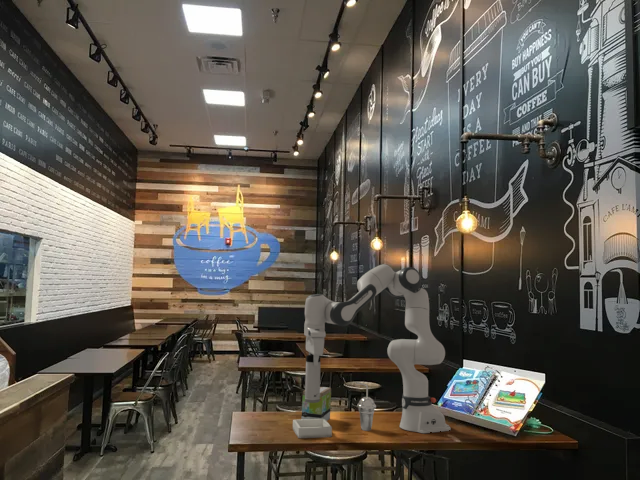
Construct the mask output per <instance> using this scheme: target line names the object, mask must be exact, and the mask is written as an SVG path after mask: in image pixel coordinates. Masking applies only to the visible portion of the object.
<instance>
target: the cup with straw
mask: <svg viewBox="0 0 640 480" xmlns="http://www.w3.org/2000/svg"><path fill="white" fill-rule="evenodd" d="M355 384H358V385H360V386H363V387H366V390H365V391H366V393H365V394H366V396H363V397H361V399H359V401H358V403H357V405H356V407H358V412H359V420H360V427H361V428H360V429H361V430H362V431H372V427H373V418H374V413H375V409H376V408H377V405H376V404H375V401H374V399H373V398H371V397H370V396H369V386H368V384H367V383H362V382H359V381H355Z"/></svg>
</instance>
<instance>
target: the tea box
mask: <svg viewBox="0 0 640 480" xmlns="http://www.w3.org/2000/svg"><path fill="white" fill-rule="evenodd" d="M331 397H332V387H326V386H320V397H319V398H320V401H319V402H317V403H309V402H306V401H305V389H304V390H302V400H301V401H302V402H301V403H302V404H301V417H300V418H301V419H325V420H326V421H327V422H328V421H329V420H330V418H331V403H332V401H331V400H332V398H331Z"/></svg>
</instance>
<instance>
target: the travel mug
mask: <svg viewBox="0 0 640 480" xmlns="http://www.w3.org/2000/svg"><path fill="white" fill-rule="evenodd" d="M305 359H306V360H305V384H304V386H305V388H304V390H305V401H306V402H309V403H317V402H319V401H320V398H319V397H320V387H321V356H319V359H318V365H317V366H314V365H313V361H314V357H313V355H309V354H307V355H306V356H305Z"/></svg>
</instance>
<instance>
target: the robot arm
mask: <svg viewBox="0 0 640 480" xmlns="http://www.w3.org/2000/svg"><path fill="white" fill-rule="evenodd" d="M356 286H357V287H356V288H357V290H358V292H357V293H355V295H353V296H352V297H351V298H350V299H348V300H346V301H342V302H341V301H337V302H336V301H333V300H331V299H329V298H328V297H326V296H325V294H324V293H315V294H310V295H308V296H307V297H306V299H305V302H304V303H305V304H304V319H305V321H304V325H303V327H304V329H303V330H304V331H303V332H304V334H303V335H304V336H305V351H307V352H308V355H313V357H314V361H313V365H314V366H317V365H318V359H319V356H320V357H322V356H323V354H324V349H325V338H326V335H327V334H326V331H325V330H326V327H325V325H326V323H327V324H332V325H337V326H340V327H347V326H349V325H350V324H351V323H352V322H353V320H354V319H355V317H356V315H357V314H358V313H359V312H360V311H361V310H362V309H363V308H364V307H365V306H367V305H368V304H369V303H370V302H371V301H372V300H373V299H374V298H375V297H376V296H378V294H380V293H381V292H383V290H385V292H387V294H389V296H390V297H394V298H395V297H396V298H399V297H404V299H405V310H404V311H405V313H404V326H405V328H406V329H407V330H408V331H409V332H410V333H413V334H415V335H416V336H417V339H411V338H410V339H405V338H400V339H399V338H398V339H394V340H391V341H390V342H389V344H388V347H387V349H386V350H387V352H386V353H387V356H388V358H389V359H390V361H391V362H392V363H394V364H395V365H396V366H397V368H398V369H399V371H400V374H401V378H402V385H403V386H402V389H403V393H402V396H401V397H402V398H401V406H402V412H401V419H400V423H399V428H400V429H402V430H405V431H408V432H409V431H410V432H416V433H420V434H430V432H432V433H440V431H441V432H449V430H450V431H452V430H451V426H450V425H449V424H447V423H446V419H445V415H444V414H443V413H442V412H441V410H439V409H438V408H437V407H436V406H434V405H433V404H434V403H436V402H437V399H436V398H435V397H431V396H429V380H428V378H427V375H425V374H424V373H422V372H420V370H419V371H418V370H417V369H416V368H415V365H424V366H433V365H434V366H435V365H440V364H442V362H443V361H444V359H445V358H446V357H445V356H446V349H445V347H444V345H443V344H442V343H441V342H440V341H439V340H438V339H437V338H436V337H435V336H434V334H433V333H432V330H431V326H430V301H429V294H428V291H427V290H426V289H425V288H423V282H422V278H421V274H420V271H418V270H417V269H416V268H414V267H411V266H409V267H408V266H407V267H403V268H402V269H400V270H398V271H394V270H393V268H392V267H391V266H390V265H388V264H385V263H383V264H379V265H376V266H375V267H373V268H371V269H370V270H367V272H366V273H364V274H362V276H361V277H360V278H359V279H358V280H357V283H356Z"/></svg>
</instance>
